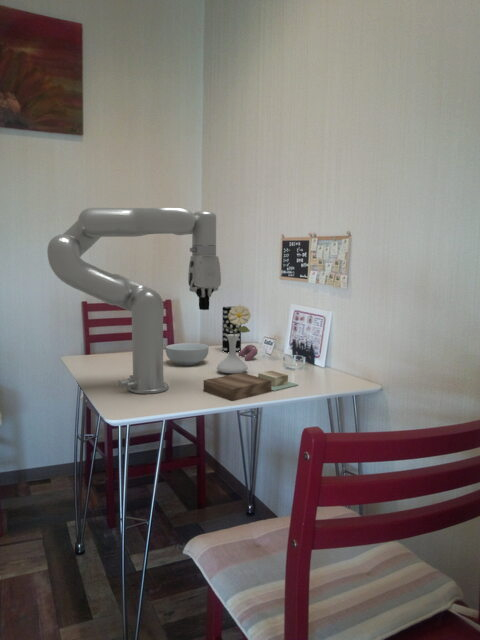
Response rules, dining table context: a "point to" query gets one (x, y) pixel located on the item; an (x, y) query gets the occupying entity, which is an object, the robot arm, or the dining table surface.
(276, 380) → the beige block
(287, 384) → the rubber mat
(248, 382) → the serving board
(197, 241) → the robot arm
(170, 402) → the dining table surface
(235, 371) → the flower in vase
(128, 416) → the dining table surface
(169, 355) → the cereal bowl
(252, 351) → the pink curved arch
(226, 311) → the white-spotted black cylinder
